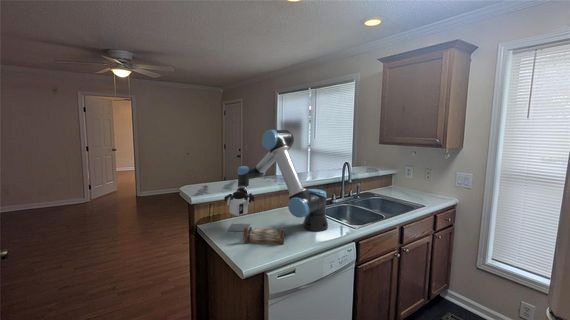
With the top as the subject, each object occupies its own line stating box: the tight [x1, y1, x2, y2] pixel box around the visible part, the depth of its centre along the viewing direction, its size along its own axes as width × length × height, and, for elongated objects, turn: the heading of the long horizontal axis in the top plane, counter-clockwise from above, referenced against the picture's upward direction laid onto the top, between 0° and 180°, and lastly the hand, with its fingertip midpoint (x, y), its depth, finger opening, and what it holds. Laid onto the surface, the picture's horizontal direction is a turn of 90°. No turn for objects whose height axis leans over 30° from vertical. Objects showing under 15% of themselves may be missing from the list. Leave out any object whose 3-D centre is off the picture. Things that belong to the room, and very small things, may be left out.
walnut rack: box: [243, 226, 285, 246], centre depth 146 cm, size 21×17×8 cm
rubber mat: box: [227, 223, 251, 233], centre depth 158 cm, size 11×11×1 cm
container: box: [229, 190, 249, 217], centre depth 156 cm, size 8×8×13 cm
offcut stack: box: [249, 228, 280, 241], centre depth 141 cm, size 16×5×4 cm, turn 88°
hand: (237, 203), depth 152 cm, fingers closed on container, 10 cm apart
